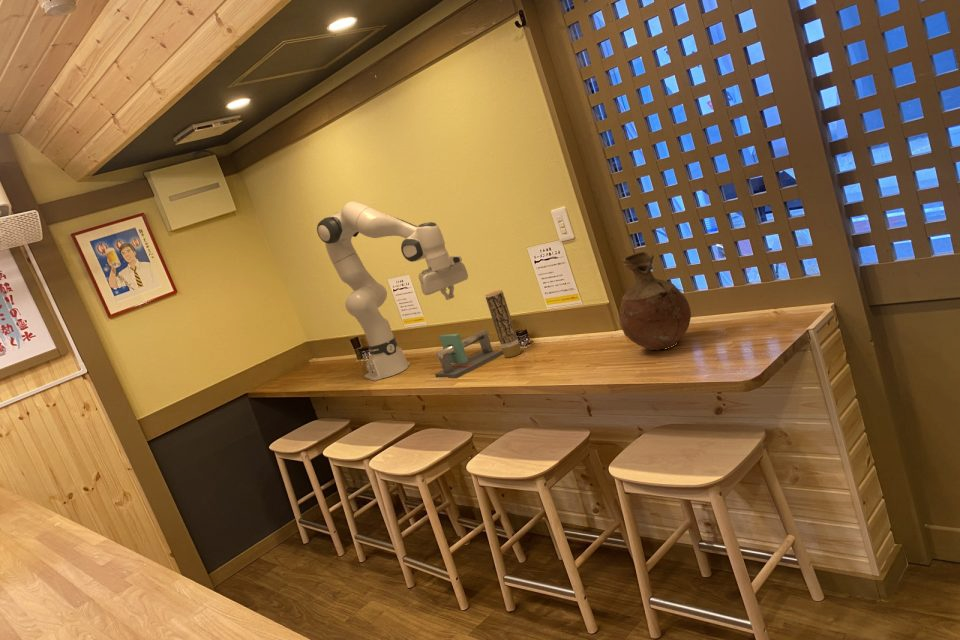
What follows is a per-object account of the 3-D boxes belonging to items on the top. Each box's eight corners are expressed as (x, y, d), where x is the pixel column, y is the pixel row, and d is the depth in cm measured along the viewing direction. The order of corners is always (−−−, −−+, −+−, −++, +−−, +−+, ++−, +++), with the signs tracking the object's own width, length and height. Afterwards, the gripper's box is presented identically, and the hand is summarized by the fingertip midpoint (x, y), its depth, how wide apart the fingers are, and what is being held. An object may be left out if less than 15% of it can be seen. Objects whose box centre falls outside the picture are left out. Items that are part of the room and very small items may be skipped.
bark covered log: (520, 355, 272) (500, 292, 267) (503, 359, 273) (483, 297, 269) (522, 350, 278) (503, 288, 274) (506, 354, 280) (486, 293, 275)
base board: (436, 377, 279) (434, 373, 279) (482, 354, 293) (481, 350, 293) (456, 378, 268) (455, 374, 268) (503, 354, 282) (502, 350, 282)
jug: (648, 363, 214) (620, 267, 208) (617, 353, 235) (591, 265, 229) (711, 339, 218) (686, 243, 213) (675, 330, 239) (651, 243, 233)
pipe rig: (442, 374, 275) (434, 351, 274) (488, 350, 289) (481, 329, 287) (447, 374, 272) (440, 351, 270) (494, 350, 286) (487, 328, 284)
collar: (447, 362, 281) (439, 336, 279) (451, 360, 282) (443, 334, 280) (464, 363, 272) (455, 335, 270) (468, 361, 273) (459, 333, 272)
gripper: (421, 271, 266) (433, 307, 268) (464, 255, 277) (475, 289, 280) (412, 273, 271) (424, 308, 273) (455, 257, 282) (465, 290, 285)
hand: (450, 298), depth 276 cm, fingers closed
